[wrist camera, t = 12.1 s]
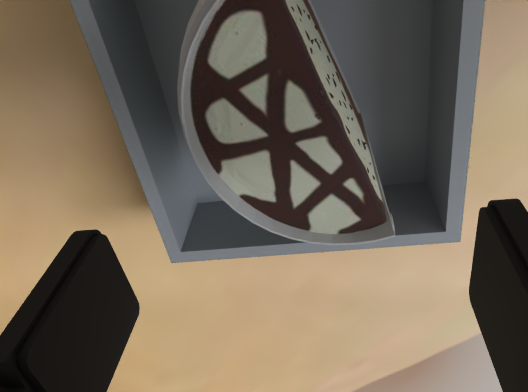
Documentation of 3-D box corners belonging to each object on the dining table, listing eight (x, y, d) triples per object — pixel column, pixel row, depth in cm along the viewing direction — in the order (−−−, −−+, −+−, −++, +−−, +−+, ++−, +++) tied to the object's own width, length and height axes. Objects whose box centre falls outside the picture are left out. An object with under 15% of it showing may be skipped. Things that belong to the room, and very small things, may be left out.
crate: (453, -185, 19) (506, -212, 14) (434, 182, 29) (460, 241, 24) (93, -105, 21) (29, -104, 16) (192, 205, 32) (171, 263, 27)
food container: (168, -13, 22) (89, 43, 14) (274, -80, 20) (253, -61, 12) (279, 173, 28) (268, 288, 20) (370, 135, 26) (400, 245, 18)
